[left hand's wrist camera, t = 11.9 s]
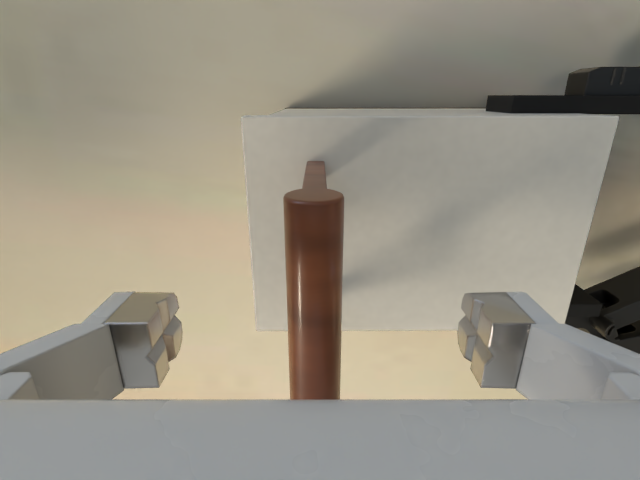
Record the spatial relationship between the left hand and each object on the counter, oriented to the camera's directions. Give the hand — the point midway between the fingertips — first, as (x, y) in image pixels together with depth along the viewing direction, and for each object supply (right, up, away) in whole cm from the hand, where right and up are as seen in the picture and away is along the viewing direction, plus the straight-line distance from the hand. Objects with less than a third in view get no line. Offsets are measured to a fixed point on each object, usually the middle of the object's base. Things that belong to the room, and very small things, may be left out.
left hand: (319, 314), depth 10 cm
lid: (+4, +3, +7) cm, 8 cm away
